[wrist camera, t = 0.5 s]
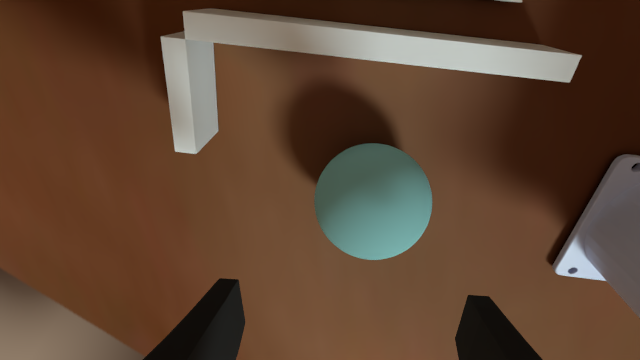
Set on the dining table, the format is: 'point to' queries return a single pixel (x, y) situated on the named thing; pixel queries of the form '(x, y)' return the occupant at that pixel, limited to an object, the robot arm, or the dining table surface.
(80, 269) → the dining table surface
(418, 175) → the ball
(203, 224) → the dining table surface
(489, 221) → the dining table surface
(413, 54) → the wall
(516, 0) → the white tray
